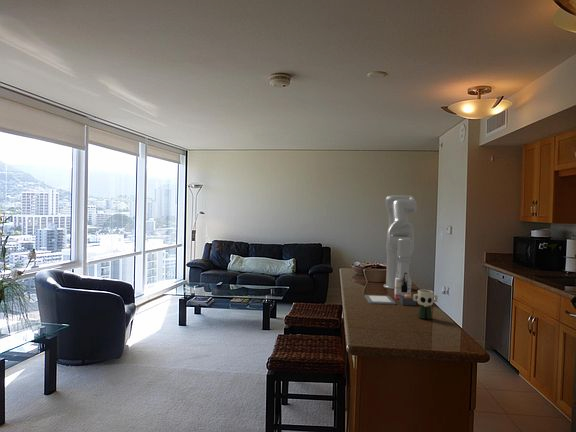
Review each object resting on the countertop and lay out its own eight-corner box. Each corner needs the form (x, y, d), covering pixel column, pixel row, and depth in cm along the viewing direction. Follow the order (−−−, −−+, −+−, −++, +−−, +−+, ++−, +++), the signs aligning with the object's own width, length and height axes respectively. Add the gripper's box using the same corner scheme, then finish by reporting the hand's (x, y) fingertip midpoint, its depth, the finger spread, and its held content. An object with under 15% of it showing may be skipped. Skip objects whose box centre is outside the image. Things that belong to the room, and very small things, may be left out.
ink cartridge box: (395, 299, 237) (396, 273, 237) (394, 297, 242) (395, 272, 242) (411, 300, 236) (411, 274, 236) (409, 298, 241) (410, 273, 241)
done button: (403, 297, 229) (403, 294, 229) (410, 298, 229) (410, 294, 229) (405, 299, 225) (405, 295, 225) (412, 299, 225) (412, 295, 225)
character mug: (413, 319, 196) (414, 291, 195) (411, 315, 203) (412, 288, 202) (438, 321, 194) (439, 293, 193) (435, 317, 201) (436, 290, 200)
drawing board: (364, 296, 243) (364, 294, 243) (389, 297, 242) (389, 295, 242) (369, 303, 225) (369, 301, 225) (395, 304, 224) (395, 302, 224)
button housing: (399, 302, 231) (399, 295, 231) (412, 302, 231) (412, 296, 230) (402, 305, 224) (402, 298, 224) (415, 305, 224) (416, 299, 223)
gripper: (393, 257, 247) (392, 287, 248) (400, 261, 230) (399, 294, 231) (406, 258, 247) (405, 288, 248) (414, 262, 230) (413, 294, 230)
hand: (402, 290), depth 239 cm, fingers open, 6 cm apart
